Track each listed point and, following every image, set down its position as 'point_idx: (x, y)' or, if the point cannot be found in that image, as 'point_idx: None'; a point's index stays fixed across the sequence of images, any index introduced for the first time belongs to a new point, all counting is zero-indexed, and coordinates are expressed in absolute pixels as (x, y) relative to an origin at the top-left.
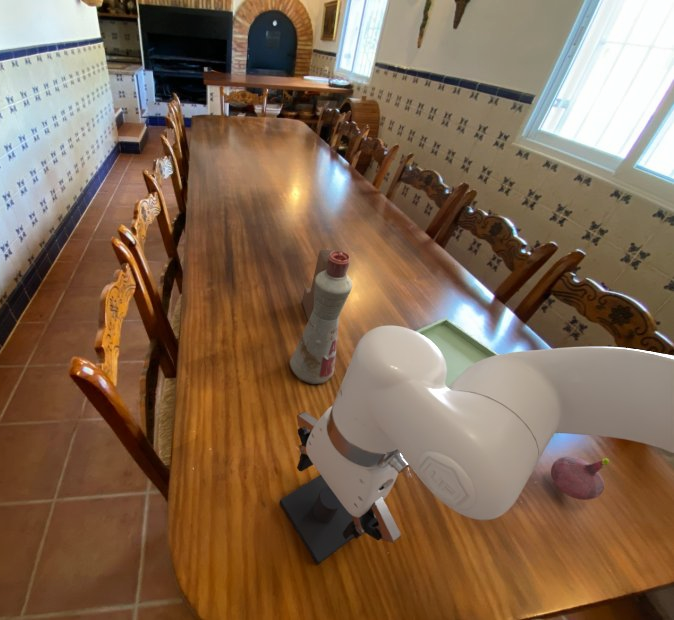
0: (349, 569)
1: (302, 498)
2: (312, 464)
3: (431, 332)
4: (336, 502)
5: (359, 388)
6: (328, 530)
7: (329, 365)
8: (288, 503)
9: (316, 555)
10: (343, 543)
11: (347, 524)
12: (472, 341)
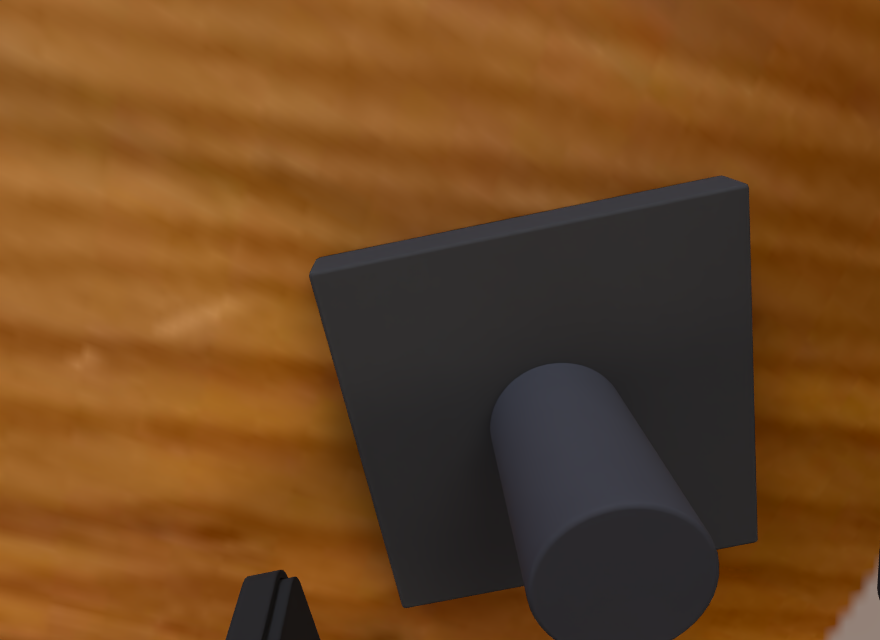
0: (833, 374)
1: (438, 503)
2: (307, 619)
3: None
4: (681, 561)
5: None
6: (656, 435)
7: None
8: (437, 577)
9: (727, 539)
10: (752, 386)
11: (681, 315)
12: None
